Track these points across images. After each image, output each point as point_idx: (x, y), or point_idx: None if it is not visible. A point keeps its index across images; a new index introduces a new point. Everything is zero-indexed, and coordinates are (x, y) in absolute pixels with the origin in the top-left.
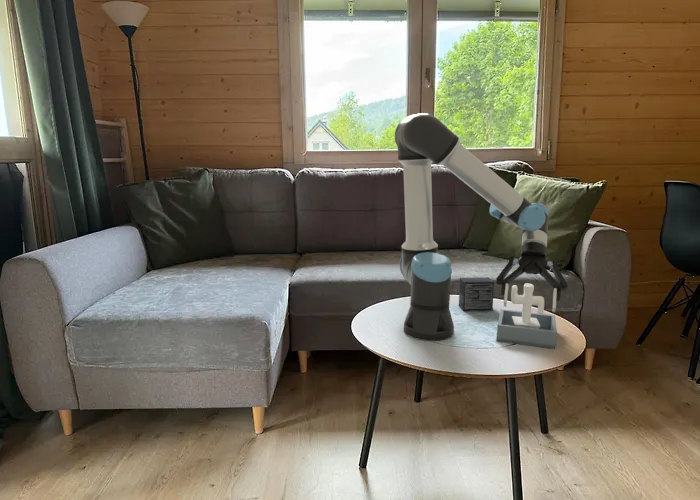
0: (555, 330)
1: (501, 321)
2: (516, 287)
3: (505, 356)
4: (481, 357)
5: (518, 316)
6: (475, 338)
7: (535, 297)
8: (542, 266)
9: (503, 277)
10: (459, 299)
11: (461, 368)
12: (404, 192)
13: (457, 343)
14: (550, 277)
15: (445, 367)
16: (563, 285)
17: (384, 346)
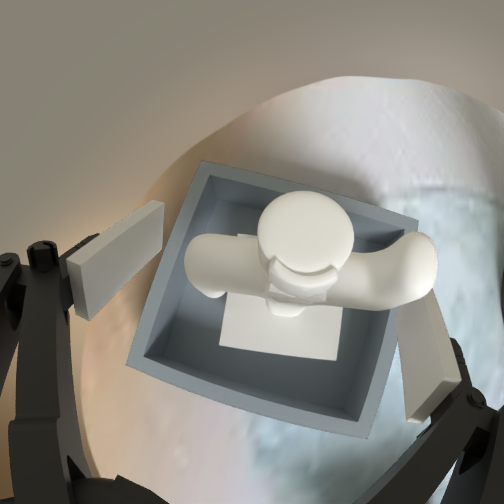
0: (198, 178)
1: None
2: (411, 233)
3: (375, 139)
4: (431, 137)
5: (287, 402)
6: (451, 262)
7: (247, 241)
8: (26, 480)
9: (467, 471)
10: None
11: (457, 97)
12: None
13: (489, 220)
14: (37, 343)
15: (482, 105)
16: (15, 265)
17: None
